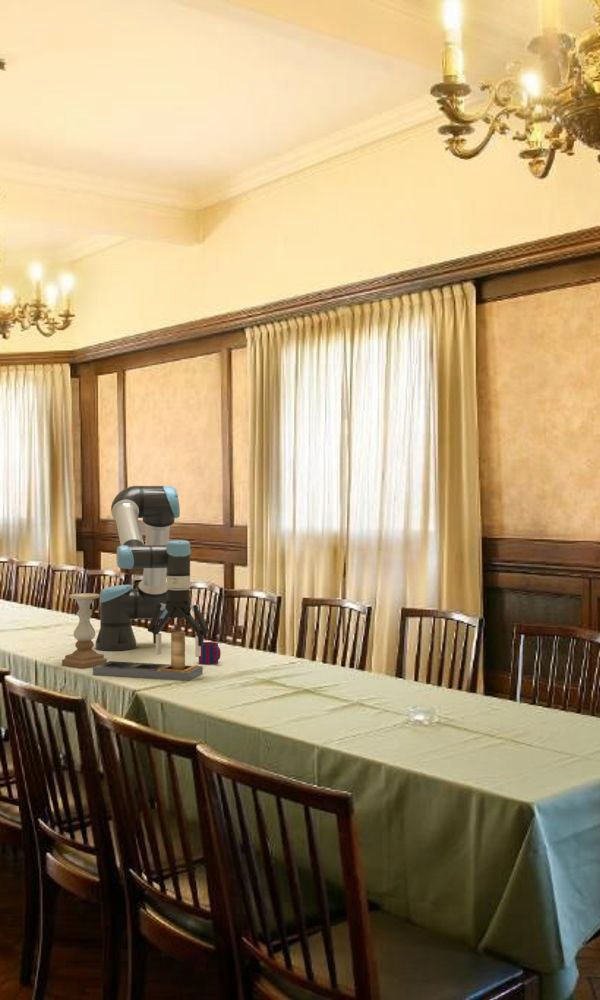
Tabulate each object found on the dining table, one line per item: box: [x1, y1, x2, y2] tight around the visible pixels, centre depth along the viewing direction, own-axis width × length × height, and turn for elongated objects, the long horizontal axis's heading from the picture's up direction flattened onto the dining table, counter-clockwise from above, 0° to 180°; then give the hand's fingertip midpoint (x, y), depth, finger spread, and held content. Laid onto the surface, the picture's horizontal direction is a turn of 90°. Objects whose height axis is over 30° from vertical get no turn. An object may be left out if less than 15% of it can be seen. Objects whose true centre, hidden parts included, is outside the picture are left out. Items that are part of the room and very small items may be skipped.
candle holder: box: [61, 592, 108, 669], centre depth 343 cm, size 11×11×24 cm
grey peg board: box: [92, 660, 204, 682], centre depth 326 cm, size 12×33×3 cm, turn 74°
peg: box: [170, 631, 186, 670], centre depth 323 cm, size 4×4×14 cm
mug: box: [198, 641, 222, 666], centre depth 346 cm, size 7×10×7 cm
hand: (178, 655), depth 323 cm, fingers open, 13 cm apart
